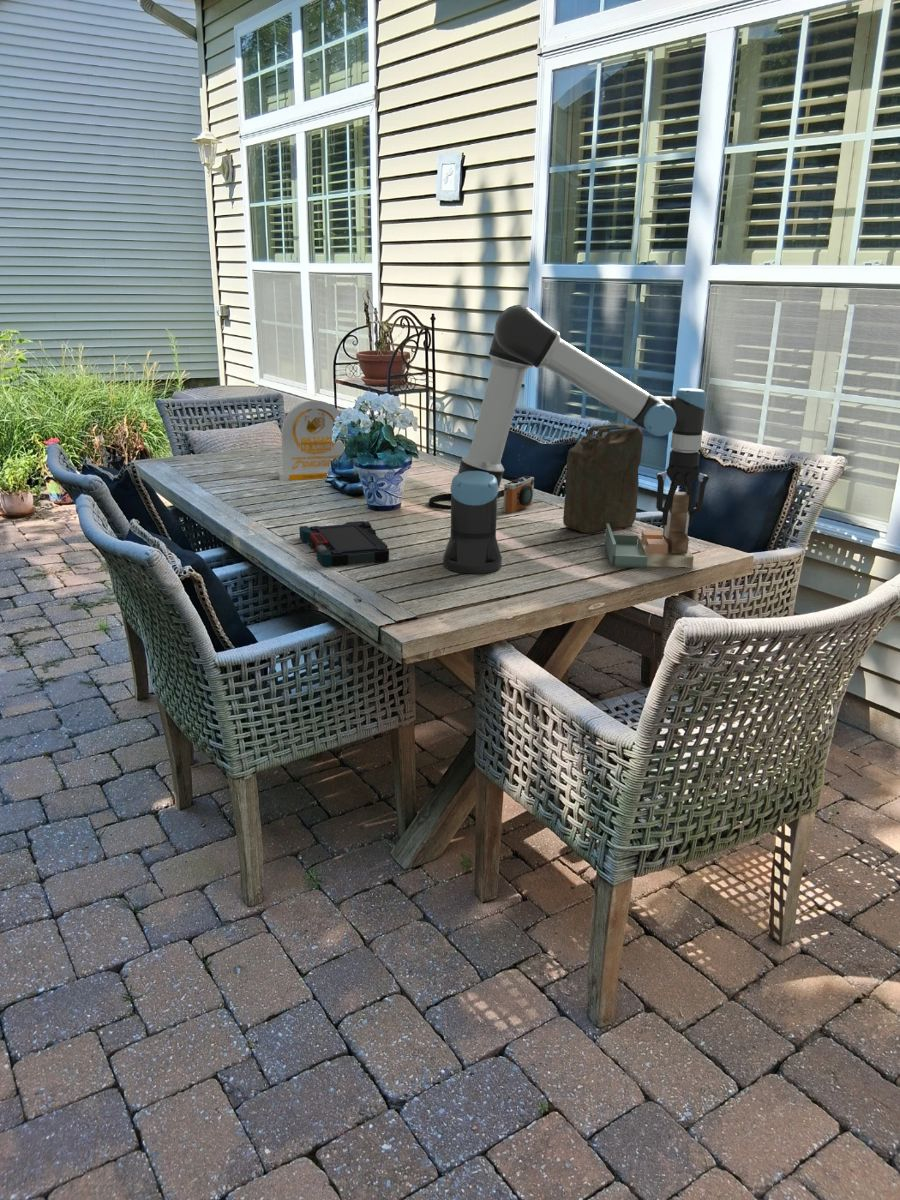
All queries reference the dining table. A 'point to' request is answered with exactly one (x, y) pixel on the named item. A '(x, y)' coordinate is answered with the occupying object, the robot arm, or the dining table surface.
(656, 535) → the tile back
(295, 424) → the award
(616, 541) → the box
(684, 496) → the t-shaped wooden block
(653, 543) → the tile front
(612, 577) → the dining table surface
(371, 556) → the electronic device
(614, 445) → the container
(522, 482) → the camera
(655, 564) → the beige slotted plate
